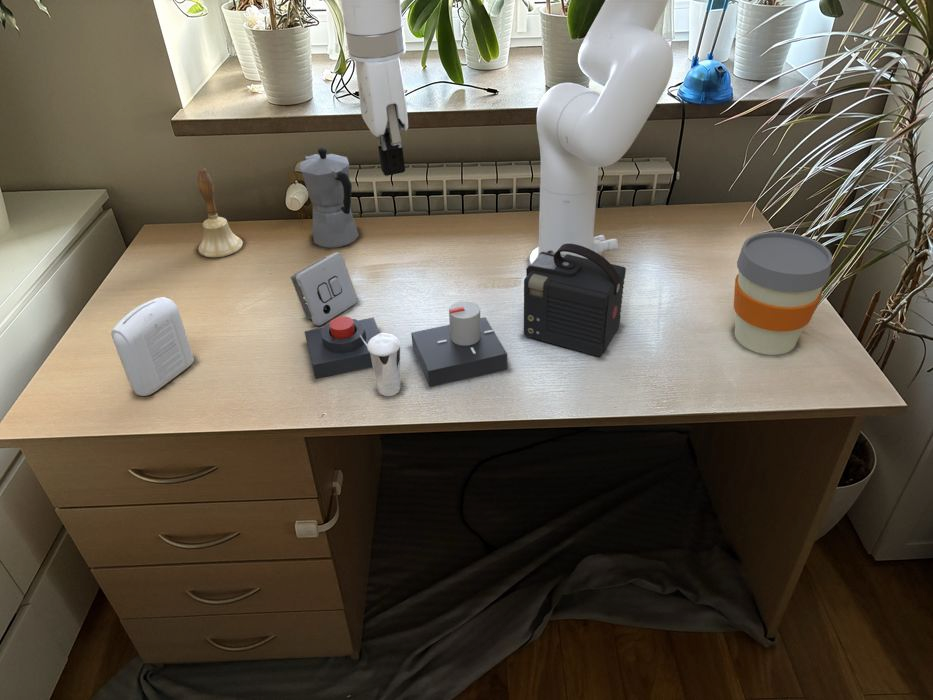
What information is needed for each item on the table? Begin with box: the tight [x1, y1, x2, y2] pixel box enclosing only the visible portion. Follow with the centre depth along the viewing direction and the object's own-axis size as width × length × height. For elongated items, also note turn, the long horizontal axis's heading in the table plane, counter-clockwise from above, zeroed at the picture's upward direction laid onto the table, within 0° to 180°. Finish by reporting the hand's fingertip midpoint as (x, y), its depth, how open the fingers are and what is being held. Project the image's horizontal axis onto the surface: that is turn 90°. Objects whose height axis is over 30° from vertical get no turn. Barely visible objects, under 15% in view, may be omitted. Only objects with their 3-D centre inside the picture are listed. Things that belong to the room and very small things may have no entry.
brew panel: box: [410, 316, 508, 388], centre depth 113 cm, size 12×10×3 cm
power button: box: [329, 315, 355, 339], centre depth 112 cm, size 4×4×2 cm
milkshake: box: [360, 332, 402, 397], centre depth 105 cm, size 4×5×10 cm
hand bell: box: [197, 167, 244, 258], centre depth 139 cm, size 8×8×16 cm
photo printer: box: [110, 296, 195, 397], centre depth 109 cm, size 10×4×12 cm, turn 152°
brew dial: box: [448, 300, 481, 346], centre depth 111 cm, size 5×5×5 cm
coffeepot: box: [299, 147, 359, 249], centre depth 139 cm, size 15×9×18 cm, turn 37°
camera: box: [523, 244, 627, 357], centre depth 114 cm, size 11×14×15 cm
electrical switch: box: [290, 252, 358, 327], centre depth 123 cm, size 9×5×9 cm, turn 141°
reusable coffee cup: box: [733, 231, 833, 356], centre depth 110 cm, size 13×13×15 cm
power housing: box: [304, 317, 381, 380], centre depth 114 cm, size 11×9×4 cm
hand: (393, 171), depth 110 cm, fingers closed
